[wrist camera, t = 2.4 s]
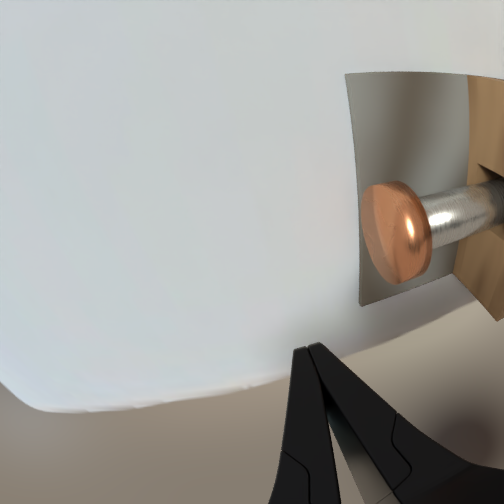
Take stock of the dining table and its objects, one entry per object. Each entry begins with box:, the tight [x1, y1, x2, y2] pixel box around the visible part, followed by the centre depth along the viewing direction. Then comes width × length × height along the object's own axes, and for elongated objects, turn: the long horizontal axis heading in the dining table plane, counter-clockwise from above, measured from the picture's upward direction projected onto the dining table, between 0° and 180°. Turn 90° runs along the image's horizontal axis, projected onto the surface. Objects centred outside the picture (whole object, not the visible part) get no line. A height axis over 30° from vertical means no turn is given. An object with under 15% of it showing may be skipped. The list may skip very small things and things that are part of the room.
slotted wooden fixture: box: [345, 72, 504, 321], centre depth 13 cm, size 18×14×6 cm
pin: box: [361, 177, 504, 285], centre depth 13 cm, size 10×5×5 cm, turn 102°
